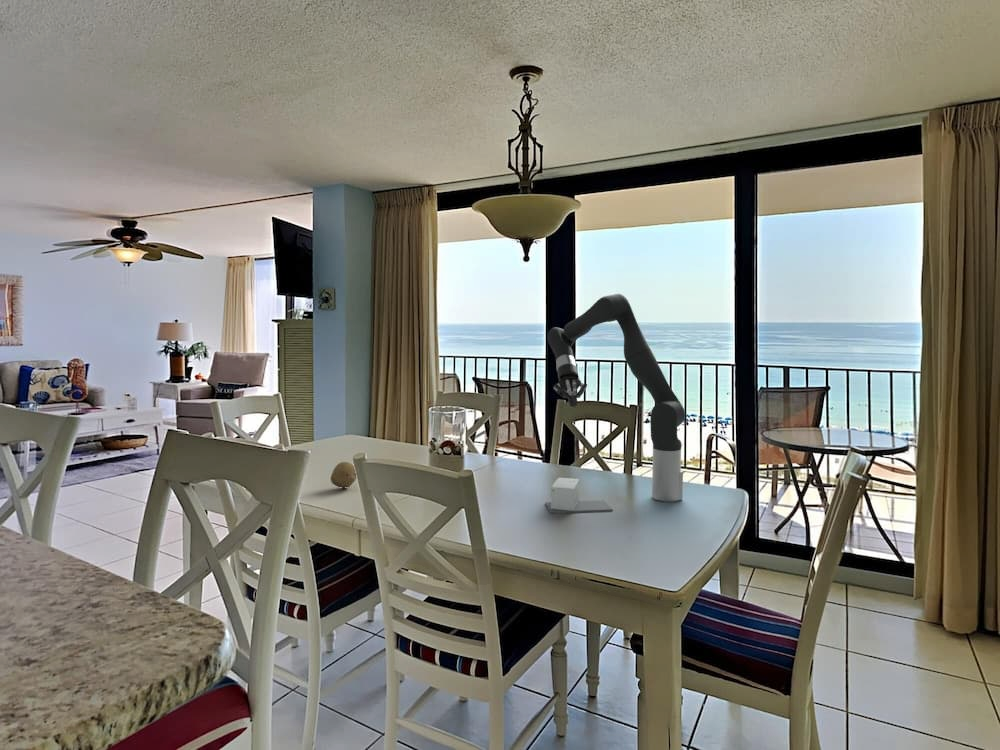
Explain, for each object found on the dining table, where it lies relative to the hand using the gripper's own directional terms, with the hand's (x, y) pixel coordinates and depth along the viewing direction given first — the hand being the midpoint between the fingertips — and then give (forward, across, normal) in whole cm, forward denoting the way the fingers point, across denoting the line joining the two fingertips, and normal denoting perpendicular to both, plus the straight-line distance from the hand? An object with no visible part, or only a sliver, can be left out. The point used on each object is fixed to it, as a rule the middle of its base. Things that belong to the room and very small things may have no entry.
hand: (574, 405), depth 217 cm
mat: (+38, -4, +4) cm, 39 cm away
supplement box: (+30, -5, +6) cm, 31 cm away
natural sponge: (+16, -83, +26) cm, 89 cm away
